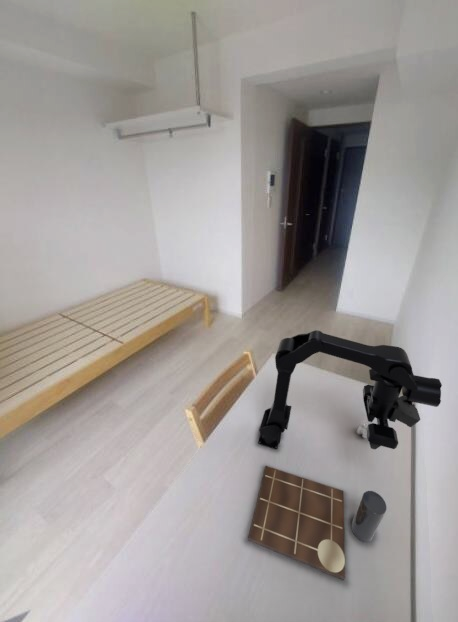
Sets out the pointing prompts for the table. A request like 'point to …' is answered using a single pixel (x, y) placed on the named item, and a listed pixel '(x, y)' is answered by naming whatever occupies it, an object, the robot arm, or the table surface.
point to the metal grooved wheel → (363, 429)
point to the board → (301, 521)
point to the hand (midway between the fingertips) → (371, 434)
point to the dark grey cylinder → (368, 516)
